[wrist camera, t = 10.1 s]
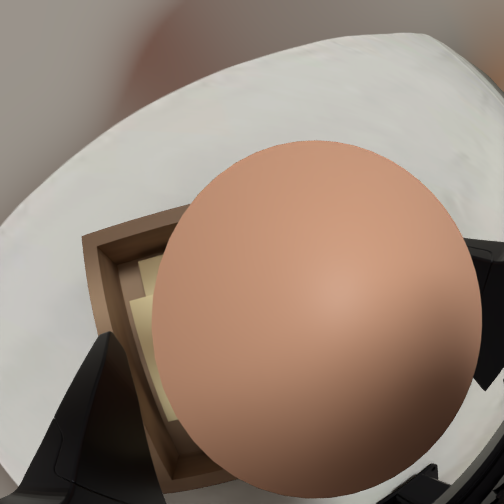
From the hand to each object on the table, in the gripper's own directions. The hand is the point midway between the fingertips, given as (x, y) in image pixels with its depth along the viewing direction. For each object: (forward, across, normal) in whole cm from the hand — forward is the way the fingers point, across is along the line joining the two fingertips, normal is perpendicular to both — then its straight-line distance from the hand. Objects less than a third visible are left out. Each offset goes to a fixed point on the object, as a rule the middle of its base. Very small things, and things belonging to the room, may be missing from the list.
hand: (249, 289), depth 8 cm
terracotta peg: (+4, 0, +6) cm, 7 cm away
